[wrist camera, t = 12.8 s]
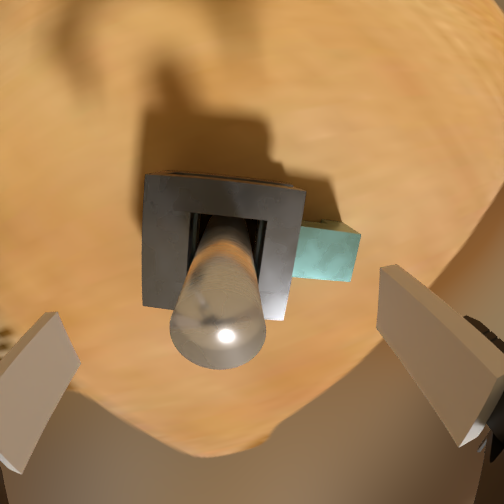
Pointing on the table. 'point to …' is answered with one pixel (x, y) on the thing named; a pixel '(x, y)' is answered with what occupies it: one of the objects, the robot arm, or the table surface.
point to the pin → (220, 300)
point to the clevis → (266, 242)
